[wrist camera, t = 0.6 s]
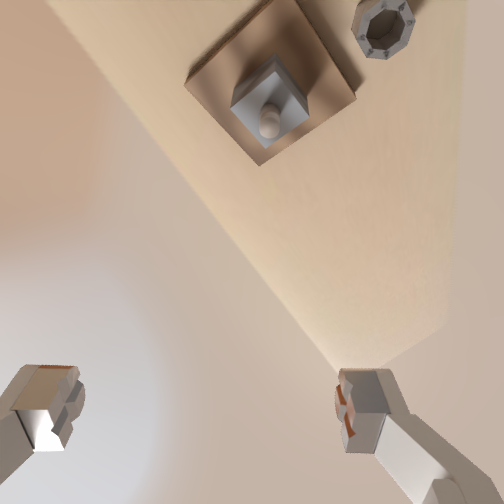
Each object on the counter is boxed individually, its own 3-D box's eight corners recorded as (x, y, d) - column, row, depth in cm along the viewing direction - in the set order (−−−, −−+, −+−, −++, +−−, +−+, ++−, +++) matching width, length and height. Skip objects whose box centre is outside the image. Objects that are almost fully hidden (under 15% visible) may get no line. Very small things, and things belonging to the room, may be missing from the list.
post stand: (286, -16, 42) (288, 12, 34) (354, 93, 51) (369, 136, 43) (186, 80, 51) (168, 121, 42) (259, 159, 59) (256, 206, 51)
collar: (391, -23, 41) (399, -15, 39) (412, 24, 45) (422, 34, 42) (343, 16, 44) (348, 26, 42) (367, 58, 48) (373, 69, 45)
